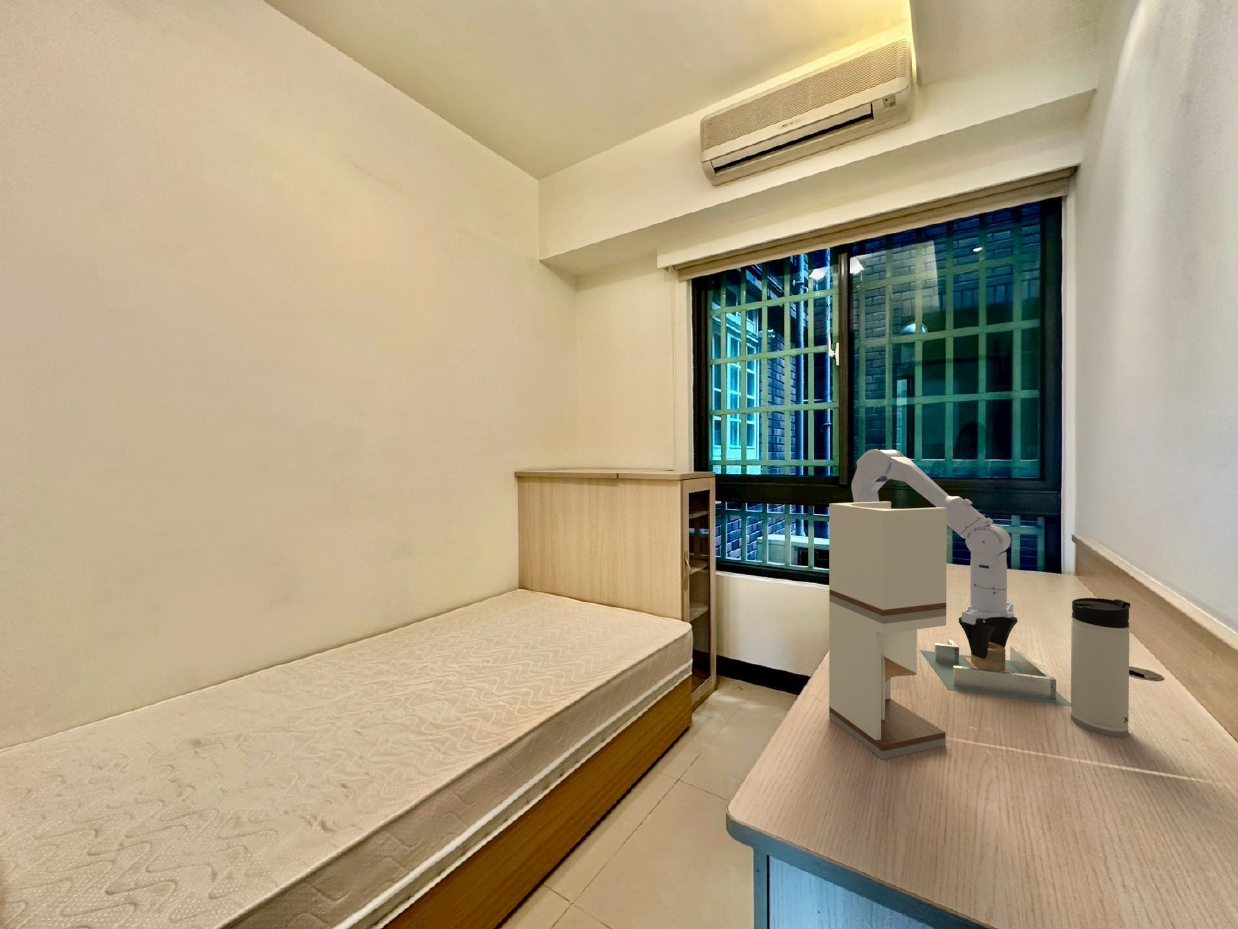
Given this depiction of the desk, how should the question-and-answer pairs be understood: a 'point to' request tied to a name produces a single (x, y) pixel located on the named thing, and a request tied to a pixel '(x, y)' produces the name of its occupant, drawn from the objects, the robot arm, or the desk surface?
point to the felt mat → (947, 678)
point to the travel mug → (1100, 665)
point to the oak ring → (991, 658)
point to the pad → (978, 667)
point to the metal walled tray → (1000, 674)
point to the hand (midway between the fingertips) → (987, 653)
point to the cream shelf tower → (882, 618)
